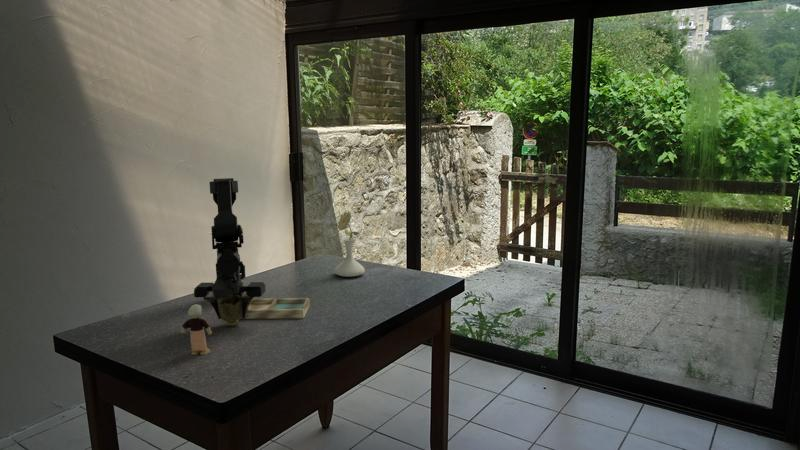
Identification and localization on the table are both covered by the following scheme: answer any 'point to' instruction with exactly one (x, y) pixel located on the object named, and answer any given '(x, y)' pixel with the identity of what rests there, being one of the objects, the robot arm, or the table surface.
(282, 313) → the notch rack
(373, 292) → the table surface
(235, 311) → the cup
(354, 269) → the flower in vase
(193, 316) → the grandmother figurine
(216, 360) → the table surface
